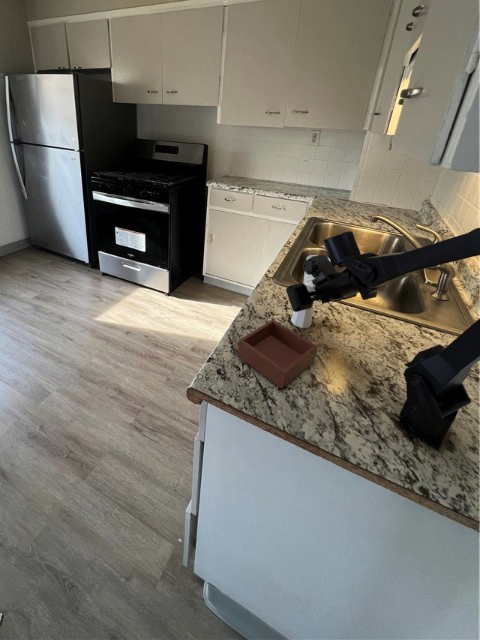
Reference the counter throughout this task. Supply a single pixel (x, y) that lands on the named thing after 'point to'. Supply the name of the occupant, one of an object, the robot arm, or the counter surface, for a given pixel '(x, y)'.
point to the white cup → (309, 276)
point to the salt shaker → (303, 315)
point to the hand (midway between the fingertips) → (301, 299)
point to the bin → (277, 352)
